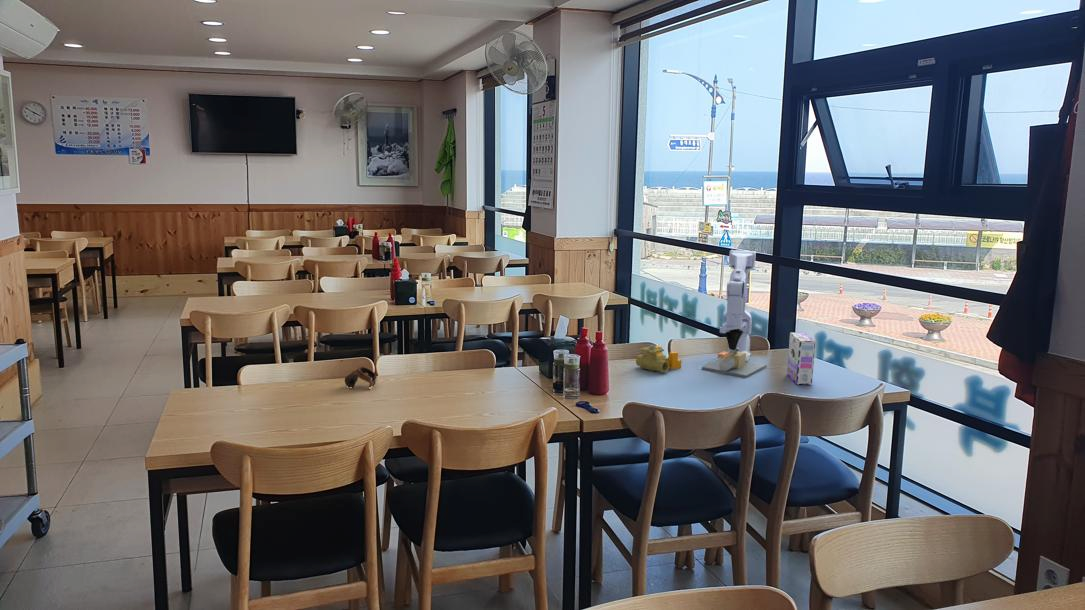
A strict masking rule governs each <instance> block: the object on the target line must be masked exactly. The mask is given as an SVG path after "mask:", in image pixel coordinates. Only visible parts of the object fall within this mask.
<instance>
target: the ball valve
mask: <svg viewBox="0 0 1085 610" xmlns="http://www.w3.org/2000/svg"><path fill="white" fill-rule="evenodd" d="M655 346H656V345H655V344H650V345H649V346H645V347H641V348H640V349H639V351H640V352H647V353H644V354H641V353H640V354H638V355H636V357H635V359H636V360H635V363H636V365H637V366H639V367H640V368H642V370H649V371H653V372H654V371H658V372H661V373H667V372H669V369H670V368H669V362H668V361H667V359H668V357H667V356H666V355H665V354H663V355H662V354H660V355H656V353H658V352H662V353H663V352H664V351H665V349H664V348H655Z"/></svg>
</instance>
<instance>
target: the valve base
mask: <svg viewBox="0 0 1085 610" xmlns="http://www.w3.org/2000/svg"><path fill="white" fill-rule="evenodd" d="M749 353H750V352H749ZM749 353H748V352H747V351H742V352H738V351H736V352H733V353H731V354H729V356H727V357H725V358H718V359H716V360H714V361H712V362H709V363H707V364H705V365H702V366H701V370H704V371H709V372H714V373H719V374H724V375H729V376H735V377H740V378H745V379H747V378H749V377H752V375H755V374H756V373H758V372H761V371H762V370H764V369H765V368H767V364H766V363H760V362H755V361H754V362H753V361H749V360H750V358H751V355H750V354H749Z"/></svg>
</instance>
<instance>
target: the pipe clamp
mask: <svg viewBox="0 0 1085 610" xmlns="http://www.w3.org/2000/svg"><path fill="white" fill-rule="evenodd" d="M655 348H662V346H660V345H655ZM660 354H662V355H664V354H663V351H662V352H658V353H656V355H660ZM667 361H668V362H669V369H670V370H677V369H682V359H679V352H677V351H670V352H669V355H668V357H667Z"/></svg>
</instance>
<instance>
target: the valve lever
mask: <svg viewBox="0 0 1085 610" xmlns="http://www.w3.org/2000/svg"><path fill="white" fill-rule="evenodd" d="M736 351H739V348H737V347H736V349H735V350H731V349H730V350H728V349H727V350H723V351H721V352H719V353H717V358H718V359H720V358H725V357H727V356H729V354H731V353H733V352H736Z"/></svg>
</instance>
